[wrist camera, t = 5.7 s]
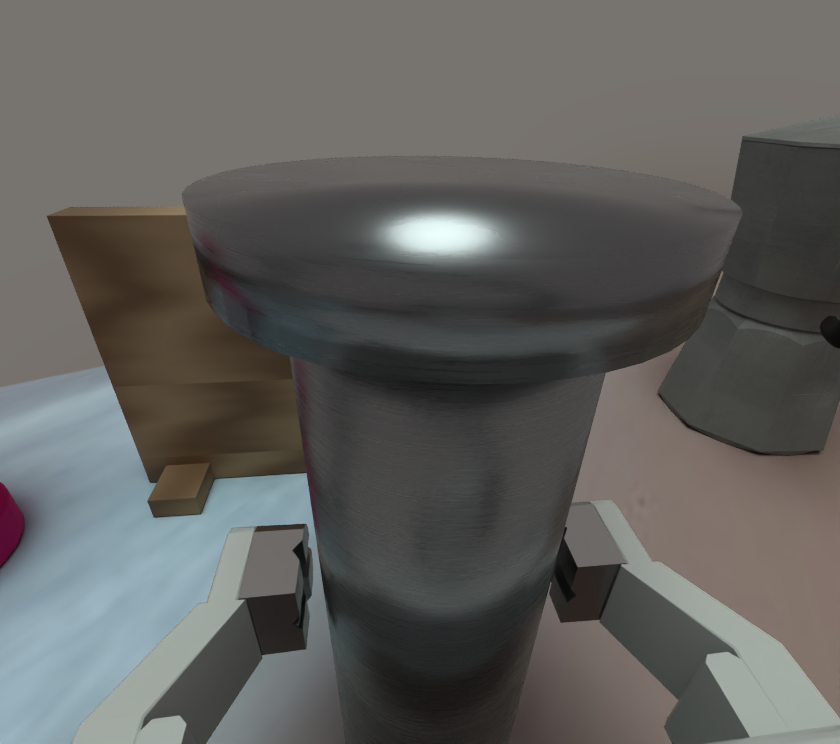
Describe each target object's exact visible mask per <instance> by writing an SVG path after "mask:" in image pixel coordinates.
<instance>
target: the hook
mask: <svg viewBox="0 0 840 744" xmlns="http://www.w3.org/2000/svg"><path fill="white" fill-rule="evenodd" d="M182 198H183V203H184V207H185V212H186V216H187V220H188V224H189V229H190V233H191V237H192V241H193V246H194V250H195V254H196V258H197V263H198V267H199V271H200V275H201V280H202V284H203V288H204V292H205V296H206V301H207V303H208V304H209V306H210V307H211V309H212V311H213V312H214V314H215V315H216V316H217V317H218V318H219V319H221V320H222V321H223V322H224V323H225V324H226V325H227V326H228V327H229V328H231V329H233V330H234V331H236V332H238V333H239V334H241V335H243V336H244V337H246V338H248V339H249V340H251V341H253V342H255V343H258V344H260V345H262V346H265V347H267V348H269V349H272V350H274V351H277V352H279V353H281V354H284V355H288V356H290V363H291V369H292V376H293V383H294V390H295V397H296V404H297V410H298V417H299V424H300V431H301V438H302V445H303V451H304V458H305V465H306V472H307V479H308V486H309V492H310V499H311V506H312V513H313V520H314V527H315V533H316V540H317V547H318V554H319V561H320V567H321V574H322V581H323V588H324V595H325V602H326V608H327V615H328V622H329V629H330V636H331V643H332V649H333V656H334V663H335V670H336V677H337V684H338V690H339V697H340V704H341V711H342V718H343V724H344V731H345V738H346V744H508V741H509V737H510V733H511V730H512V726H513V722H514V718H515V714H516V711H517V707H518V703H519V699H520V695H521V692H522V688H523V684H524V680H525V676H526V673H527V669H528V665H529V661H530V657H531V654H532V650H533V646H534V642H535V638H536V635H537V631H538V627H539V623H540V620H541V616H542V612H543V608H544V604H545V601H546V597H547V593H548V589H549V585H550V582H551V578H552V574H553V570H554V566H555V563H556V559H557V555H558V551H559V547H560V544H561V540H562V536H563V532H564V529H565V525H566V521H567V517H568V513H569V510H570V506H571V502H572V498H573V494H574V491H575V487H576V483H577V479H578V475H579V472H580V468H581V464H582V460H583V456H584V453H585V449H586V445H587V441H588V438H589V434H590V430H591V426H592V422H593V419H594V415H595V411H596V407H597V403H598V400H599V396H600V392H601V388H602V384H603V381H604V377H605V373H606V372H610V371H614V370H617V369H621V368H625V367H629V366H632V365H636V364H640V363H643V362H645V361H648V360H650V359H653V358H655V357H657V356H660V355H662V354H665V353H667V352H669V351H671V350H673V349H674V348H676V347H677V346H679V345H680V344H682V343H684V342H685V341H687V340H688V339H689V338H690V337H691V336H692V335H693V334H694V333H695V332H696V331H697V330H698V329H699V328H700V326H701V325H702V322H703V319H704V317H705V314H706V312H707V309H708V306H709V303H710V301H711V298H712V295H713V293H714V290H715V287H716V284H717V282H718V279H719V276H720V273H721V271H722V268H723V265H724V263H725V260H726V257H727V254H728V252H729V249H730V246H731V243H732V241H733V238H734V235H735V232H736V230H737V227H738V224H739V222H740V219H741V216H742V211H741V209H740V207H739V205H737V204H736V203H735V202H733V201H732V200H731V199H729V198H727V197H725V196H723V195H721V194H719V193H716V192H713V191H711V190H708V189H705V188H702V187H699V186H695V185H692V184H688V183H685V182H680V181H676V180H672V179H667V178H663V177H657V176H652V175H647V174H641V173H635V172H629V171H623V170H616V169H609V168H602V167H593V166H585V165H576V164H566V163H556V162H544V161H531V160H518V159H501V158H481V157H451V156H373V157H346V158H328V159H313V160H300V161H291V162H281V163H272V164H265V165H258V166H252V167H247V168H240V169H235V170H231V171H226V172H222V173H219V174H215V175H211V176H208V177H205V178H203V179H201V180H198V181H196V182H194V183H192V184H191V185H189V186H188V187H186V189H185V190H184V191H183V193H182Z"/></svg>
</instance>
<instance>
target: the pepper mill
mask: <svg viewBox="0 0 840 744" xmlns="http://www.w3.org/2000/svg"><path fill="white" fill-rule="evenodd" d="M23 527H24V518H23V515H22V513H21V511H20V509H19V508H18V506H17V504H16V503H15V501H14V499H13V498H12V496H11V495H10V493H9V491H8V490H7V488H6V487H5V486H4V484H2V483H1V482H0V566H1V565H2V564H3V563H4V562H5V560H6V559H7V558H8V556H9V555H10V554H11V552H12V551H13V550H14V548H15V547H16V546H17V544H18V541H19V539H20V536H21V534H22V531H23Z"/></svg>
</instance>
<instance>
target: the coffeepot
mask: <svg viewBox="0 0 840 744" xmlns="http://www.w3.org/2000/svg"><path fill="white" fill-rule="evenodd" d="M731 200H732V201H733V202H735V203H736V204H737V205H739V207H740V209H741V211H742V216H741V219H740V222H739V224H738V227H737V230H736V232H735V235H734V238H733V241H732V243H731V246H730V249H729V252H728V254H727V257H726V260H725V263H724V265H723V268H722V271H723V272H724V273H723V276H722V278H721V281H720V283H719V286H718V288H717V291H716V294H715V296H714V297H713V298H712V299H711V301H710V303H709V306H708V309H707V312H706V314H705V317H704V319H703V322H702V325H701V326H700V328H699V329H698V330H697V331H696V332H695V333H694V334H693V335H692V336H691V337H690V338H689V339H688V340H687V341H686V343H685V344H684V346H683V348H682V350H681V351H680V353H679V355H678V357H677V358H676V360H675V362H674V363H673V365H672V367H671V369H670V370H669V372H668V374H667V376H666V377H665V379H664V381H663V382H662V384H661V386H660V388H659V389H658V392H659V393H660V395H661V397H662V398H663V400H664V402H665V403H666V404H667V406H668V407H669V409H670V410H671V411H672V412H673V413H674V414H675V415H676V416H677V417H678V418H679V419H681V420H682V421H684V422H685V423H686V424H688V425H689V426H691V427H692V428H694V429H696V430H698V431H699V432H701V433H703V434H705V435H707V436H709V437H711V438H714V439H716V440H718V441H720V442H723V443H726V444H729V445H732V446H735V447H738V448H742V449H745V450H749V451H753V452H758V453H765V454H771V455H799V454H804V453H808V452H811V451H821V450H823V449H824V446H825V443H826V439H827V436H828V433H829V430H830V427H831V424H832V421H833V418H834V415H835V412H836V409H837V406H838V403H839V400H840V114H838V115H834V116H829V117H825V118H820V119H816V120H812V121H807V122H803V123H798V124H794V125H790V126H785V127H781V128H776V129H772V130H768V131H763V132H759V133H754V134H750V135H746V136H743V138H742V143H741V148H740V154H739V159H738V164H737V169H736V175H735V180H734V185H733V190H732V196H731Z"/></svg>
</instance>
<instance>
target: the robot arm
mask: <svg viewBox="0 0 840 744" xmlns="http://www.w3.org/2000/svg"><path fill="white" fill-rule="evenodd" d="M308 540H309V532H308V527H307V524H293V525H273V526H257V527H240V528H232V529H231V530H230V532H229V533H228V535H227V537H226V541H225V544H224V547H223V550H222V554H221V557H220V560H219V564H218V567H217V570H216V573H215V577H214V580H213V583H212V586H211V590H210V593H209V596H208V599H207V603H199V604H198V605H197V606H196V607H195V608H194V609H193V610H192V611H191V612H190V613H189V614H188V615H187V616H186V617H185V618H184V619H183V620H182V621H181V622H180V623H179V624H178V625H177V626H176V627H175V628H174V629H173V630H172V631H171V632H170V633H169V634H168V635H167V636H166V637H165V638H164V639H163V640H162V641H161V642H160V643H159V645H158V646H157V647H156V648H155V649H154V650H153V651H152V652H151V653H150V654H149V655H148V656H147V657H146V658H145V659H144V660H143V661H142V662H141V663H140V664H139V665H138V666H137V667H136V668H135V669H134V670H133V671H132V672H131V673H130V674H129V675H128V676H127V677H126V678H125V679H124V680H123V681H122V682H121V683H120V684H119V685H118V686H117V687H116V688H115V690H114V691H113V692H112V693H111V694H110V695H109V696H108V697H107V698H106V699H105V700H104V701H103V702H102V703H101V704H100V705H99V706H98V707H97V708H96V709H95V710H94V711H93V712H92V713H91V714H90V715H89V716H88V717H87V718H86V719H85V720H84V721H83V722H82V723H81V725H80V727H79V729H78V731H77V733H76V736H75V738H74V740H73V742H72V744H206V742H207V741H208V739H209V738H210V736H211V735H212V733H213V732H214V730H215V729H216V727H217V726H218V724H219V723H220V721H221V720H222V718H223V717H224V715H225V714H226V712H227V711H228V709H229V708H230V706H231V705H232V703H233V702H234V700H235V699H236V697H237V696H238V694H239V693H240V691H241V690H242V688H243V687H244V685H245V684H246V682H247V681H248V679H249V678H250V676H251V675H252V673H253V672H254V670H255V668H256V667H257V665H258V664H259V662H260V661H261V659H262V655H267V654H274V653H282V652H289V651H297V650H305V649H306V646H307V637H308V627H309V617H310V616H309V610H308V604H307V601H308V599H309V598H310V597H311V596H312V585H313V559H312V551H311V549H310V548H309V547H308ZM551 582H552V584H551V588H550V592H549V594H550V596H551V599H552V602H553V604H554V607H555V609H556V612H557V614H558V617H559V619H560V622H561V623H564V622H577V621H590V620H600V623H601V624H602V625H603V626H604V627H605V628H606V629H607V630H608V631H609V632H610V633H611V634H612V635H613V636H614V637H615V638H616V639H617V640H618V641H619V642H620V643H621V644H622V645H623V646H624V647H625V648H626V649H627V650H628V651H629V652H630V653H631V654H632V655H633V656H634V657H635V658H636V659H637V660H638V661H639V662H640V663H641V664H642V665H643V666H644V667H645V668H646V669H647V670H648V671H649V672H650V673H652V674H653V675H654V676H655V677H656V678H657V679H658V680H659V681H660V682H661V683H662V684H663V685H664V686H665V687H666V688H667V689H668V690H669V691H670V692H671V693H672V694H673V695H674V696H675V697H676V698H677V699H678V702H677V704H676V705H675V707H674V708H673V710H672V712H671V713H670V715H669V716H668V718H667V720H666V723H665V726H664V727H665V730H666V732H667V734H668V736H669V738H670V740H671V742H672V744H840V718H839V717H838V716H837V714H836V713H835V712H834V710H833V709H832V708H831V707H830V705H829V704H828V703H827V701H826V700H825V699H824V698H823V696H822V695H821V694H820V692H819V691H818V690H817V688H816V687H815V686H814V685H813V683H812V682H811V681H810V679H809V678H808V677H807V676H806V674H805V673H804V672H803V670H802V669H801V668H800V667H799V665H798V664H797V663H796V661H795V660H794V659H793V658H792V656H791V655H790V654H789V652H788V651H787V650H786V648H785V647H784V646H783V645H782V644H781V643H780V642H778V641H777V640H775V639H774V638H772V637H771V636H769V635H768V634H766V633H765V632H763V631H762V630H760V629H759V628H758V627H756V626H755V625H753V624H752V623H750V622H749V621H747V620H746V619H744V618H743V617H741V616H740V615H738V614H737V613H735V612H734V611H732V610H731V609H729V608H728V607H726V606H725V605H723V604H722V603H720V602H719V601H717V600H716V599H714V598H713V597H712V596H710V595H709V594H707V593H706V592H704V591H703V590H701V589H700V588H698V587H697V586H695V585H694V584H692V583H691V582H689V581H688V580H686V579H685V578H683V577H682V576H680V575H679V574H677V573H676V572H674V571H673V570H671V569H670V568H668V567H667V566H665V565H664V564H663V563H661V562H660V561H657V562H653V561H652V560H651V558H650V557H649V555H648V554H647V552H646V551H645V549H644V548H643V546H642V544H641V543H640V541H639V540H638V538H637V537H636V535H635V534H634V532H633V530H632V529H631V527H630V526H629V524H628V523H627V521H626V520H625V518H624V517H623V515H622V513H621V512H620V510H619V509H618V507H617V506H616V504H615V503H614V502H613V501H611V500H602V501H589V502H586V501H585V502H574V503H571V506H570V510H569V513H568V517H567V521H566V525H565V529H564V532H563V536H562V540H561V544H560V547H559V551H558V555H557V559H556V563H555V566H554V570H553V574H552V578H551Z"/></svg>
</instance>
